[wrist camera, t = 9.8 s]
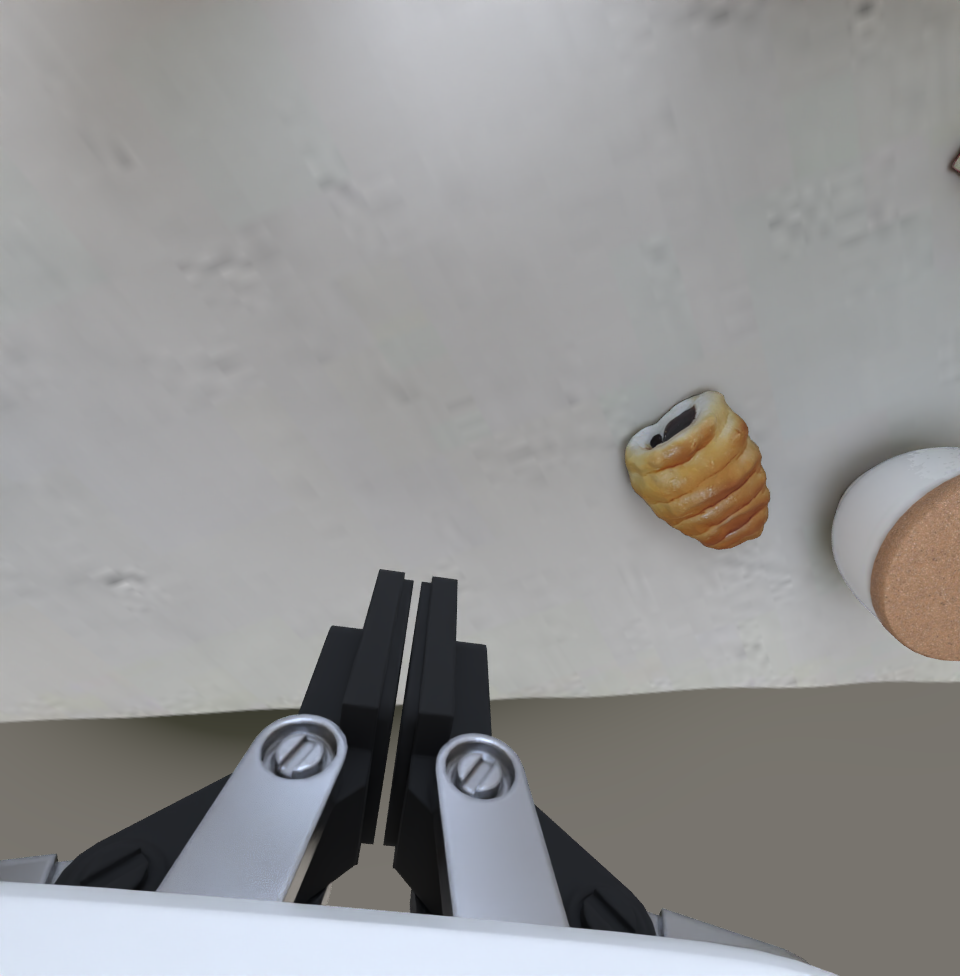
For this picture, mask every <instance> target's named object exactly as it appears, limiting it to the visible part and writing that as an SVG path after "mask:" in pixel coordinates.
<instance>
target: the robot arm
mask: <svg viewBox="0 0 960 976" xmlns="http://www.w3.org/2000/svg"><path fill="white" fill-rule="evenodd" d="M404 577H405V573H404V572H397V571H389V570H382V569H380V570H379V573H378V577H377V580H376V584H375V587H374V591H373V595H372V598H371V602H370V605H369V609H368V613H367V616H366V620H365V623H364V627H363V629H356V628H348V627H340V626H331V628H330V630H329V632H328V635H327V638H326V640H325V643H324V646H323V648H322V651H321V654H320V656H319V659H318V662H317V665H316V667H315V670H314V673H313V675H312V678H311V681H310V684H309V686H308V689H307V692H306V694H305V697H304V700H303V702H302V705H301V708H300V711H299V713H298V715H291V716H288V717H285V718H282V719H279V720H276V721H275V722H273V723H272V724H270V725H269V726H267V727H265V728H264V729H263V730H262V732H261V733H260V734H259V735H258V736H257V737H256V738H255V740H254V741H253V743H252V744H251V746H250V748H249V749H248V751H247V752H246V754H245V755H244V757H243V758H242V760H241V761H240V763H239V764H238V766H237V767H236V769H235V770H234V772H233V773H231V774H230V775H228V776H226V777H224V778H222V779H220V780H218V781H216V782H214V783H212V784H210V785H208V786H207V787H204V788H203V789H201V790H199V791H197V792H195V793H193V794H191V795H189V796H187V797H185V798H183V799H181V800H179V801H177V802H176V803H174V804H172V805H170V806H168V807H166V808H164V809H162V810H160V811H158V812H156V813H155V814H152V815H150V816H148V817H147V818H145V819H143V820H141V821H139V822H137V823H135V824H133V825H131V826H130V827H127V828H125V829H123V830H121V831H120V832H118V833H116V834H114V835H112V836H110V837H108V838H106V839H104V840H102V841H100V842H98V843H97V844H95V845H94V846H92V847H91V848H89V849H87V850H86V851H84V852H83V853H81V854H80V855H79V856H78V857H77V858H75V859H74V860H71V861H63V862H58V859H57V854H50V855H41V856H33V857H24V858H16V859H8V860H0V976H838V975H836V974H833V973H830V972H828V971H825V970H822V969H819V968H817V967H814V966H811V965H810V964H809V963H808V962H806V961H805V960H804V959H803V958H801V957H799V956H797V955H795V954H793V953H791V952H789V951H787V950H785V949H783V948H780V947H777V946H774V945H771V944H768V943H765V942H762V941H759V940H756V939H753V938H750V937H747V936H744V935H741V934H738V933H735V932H732V931H729V930H726V929H723V928H720V927H717V926H714V925H711V924H708V923H705V922H702V921H699V920H696V919H693V918H690V917H687V916H684V915H681V914H678V913H675V912H672V911H669V910H666V909H663V908H662V910H661V912H660V914H659V915H656V914H653V913H650V912H647V911H646V909H645V908H644V906H643V904H642V903H641V902H640V901H639V900H638V899H637V898H636V897H635V896H634V895H633V893H632V892H631V891H630V890H629V889H628V888H626V887H625V886H624V885H623V884H622V883H621V882H620V881H619V880H618V879H616V878H615V877H614V876H613V875H612V874H611V873H610V872H609V871H608V870H607V869H605V868H604V867H603V866H602V865H601V864H600V863H599V862H598V861H597V860H596V859H594V858H593V857H592V856H591V855H590V854H589V853H588V852H587V851H585V850H584V849H583V848H582V847H581V846H580V845H579V844H578V843H577V842H575V841H574V840H573V839H572V838H571V837H570V836H569V835H568V834H567V833H566V832H565V831H563V830H562V829H561V828H560V827H559V826H558V825H557V824H556V823H554V822H553V821H552V820H551V819H550V818H549V817H548V816H547V815H546V814H545V813H543V812H542V811H541V810H540V809H539V808H538V807H537V806H536V805H535V804H534V802H533V798H532V795H531V791H530V788H529V784H528V781H527V778H526V774H525V771H524V767H523V765H522V763H521V761H520V759H519V757H518V755H517V754H516V753H515V752H514V751H513V750H512V749H511V747H509V746H508V745H507V744H505V743H504V742H502V741H501V740H499V739H497V738H494V737H492V733H491V716H490V697H489V679H488V661H487V648H486V645H482V644H474V643H466V642H458V641H456V624H457V583H458V582H457V580H455V579H448V578H441V577H432V582H431V583H428V582H422V584H421V590H420V597H419V603H418V610H417V616H416V623H415V629H414V636H413V642H412V649H411V655H410V662H409V668H408V675H407V681H406V688H405V695H404V702H403V709H402V716H401V724H400V730H399V737H398V745H397V752H396V759H395V766H394V773H393V780H392V788H391V794H390V801H389V809H388V816H387V823H386V830H385V837H384V844H383V845H386V846H395V853H394V862H393V868H395V869H396V870H397V872H398V873H399V874H400V875H401V877H402V878H403V879H404V880H405V881H406V883H407V884H408V885H409V886H410V887H411V889H412V890H411V899H410V913H405V912H393V911H381V910H370V909H358V908H347V907H335V906H327V902H328V900H329V897H330V892H331V887H332V882H333V881H334V880H336V879H337V878H338V877H340V876H341V875H342V874H343V873H345V872H346V871H347V870H349V869H350V868H352V867H353V866H354V865H357V864H358V858H359V852H360V846H361V843H366V844H373V843H374V836H375V830H376V824H377V818H378V811H379V805H380V798H381V792H382V786H383V780H384V773H385V767H386V760H387V754H388V747H389V742H390V735H391V729H392V723H393V716H394V710H395V704H396V697H397V691H398V684H399V677H400V671H401V664H402V657H403V650H404V644H405V637H406V630H407V623H408V617H409V610H410V603H411V596H412V589H413V583H414V581H413V580H405V579H404Z"/></svg>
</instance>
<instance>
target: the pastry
mask: <svg viewBox="0 0 960 976" xmlns="http://www.w3.org/2000/svg"><path fill="white" fill-rule="evenodd" d="M761 459H762V456H761V453H760V451H759V447H758V446H757V445H756V444H755V443H754V442H753V441H752V440H750V437H749V436H748V427H747V425H746V423H745V422H744V420H743V419H741V418H740V417H739V416H738V415H737V414H736V413H734V412H733V411H732V410H731V408H730V407H729V406H728V405H727V403H726V402H725V399H724V396H723V395H722V394H721V393H719V392H716V391H706V392H704V393H702V394H701V395H695V396H693V397H691V398H688V399H686V400H684V401H682V402H681V403H679V404H677V405H676V406H674V407H673V408H672V409H671V410H670V411H669V412H668V413H667V414H665V415H664V416H663V417H662V418H661V419H660V420H659V422H658V423H657V424H654V425H652V426H648V427H646V428H644V429H642V430H641V431H640V432H638V433H637V434H636V435H634V436H633V437H632V438H631V440H630V442H629V444H628V445H627V447H626V450H625V463H626V467H627V470H628V473H629V476H630V482H631V485H632V488H633V489H634V491H635V492H636V493H637V494H638V495H639V496H641V497H642V498H643V499H644V500H645V502H646V503H647V504H648V505H649V506H650V507H651V508H652V510H653V511H654V513H655V514H656V515H657V516H658V517H659V518H661V519H663V520H664V521H666V522H667V523H668V524H669V525H670V526H672V527H673V528H675V529H678V530H680V531H681V532H682V533H683V534H685V535H687V536H690V537H692V538H695V539H697V540H698V541H700V542H701V543H702V544H703V545H704V546H706V547H710V548H714V549H718V550H720V549H728V548H733V547H735V546H737V545H739V544H741V543H743V542H745V541H747V540H752V539H755V538H757V537H759V536H760V535H761V533H762V531H763V528H764V524H765V522H766V521H767V519H768V507H767V506H768V502H769V501H770V492H769V489H768V488H767V486H766V479H767V478H766V473H765V471H764V469H763V468H762V465H761Z"/></svg>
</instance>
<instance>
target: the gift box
mask: <svg viewBox="0 0 960 976" xmlns="http://www.w3.org/2000/svg"><path fill="white" fill-rule="evenodd" d="M952 167H953V169H954V170H956V171H957V172H959V173H960V154H959V155H958V157H957V158H956V160H955V162H954V164H953V165H952Z"/></svg>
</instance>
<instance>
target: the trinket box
mask: <svg viewBox="0 0 960 976" xmlns="http://www.w3.org/2000/svg"><path fill="white" fill-rule="evenodd" d="M832 550H833V555H834V559H835V562H836V565H837V567H838V570H839V572H840V574H841V576H842V578H843V579H844V581H845V582H846V584H847V585H848V587H849V588H850V590H851V591H852V593H853V594H854V595H855V596H856V598H857V599H858V600H859V601H860V602H861V604H862V605H863V606H864V607H865V608H866V609H868V610H869V611H870V612H871V613H872V614H873V615H874V616H875V617H876V618H877V619H878V620H879V621H880V622H881V623H882V625H883V626H884V627H885V628H886V629H887V630H888V631H889V632H890V633H891V634H892V635H893V636H894V637H895V638H896V639H897V640H898V641H899V642H900V643H902V644H903V645H904V646H906V647H908V648H909V649H911V650H912V651H914V652H916V653H919V654H921V655H924V656H926V657H930V658H935V659H940V660H949V661H960V448H958V447H939V448H926V449H920V450H915V451H910V452H907V453H904V454H901V455H898V456H895V457H892V458H890V459H888V460H886V461H884V462H882V463H880V464H878V465H877V466H875V467H874V468H872V469H870V470H868V471H866V472H865V473H863V474H862V475H860V476H859V477H858V478H857V479H856V480H855V481H854V482H853V483H852V484H851V485H850V486H849V487H848V488H847V490H846V491H845V493H844V494H843V496H842V498H841V500H840V502H839V504H838V507H837V511H836V514H835V517H834V520H833V525H832Z"/></svg>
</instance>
